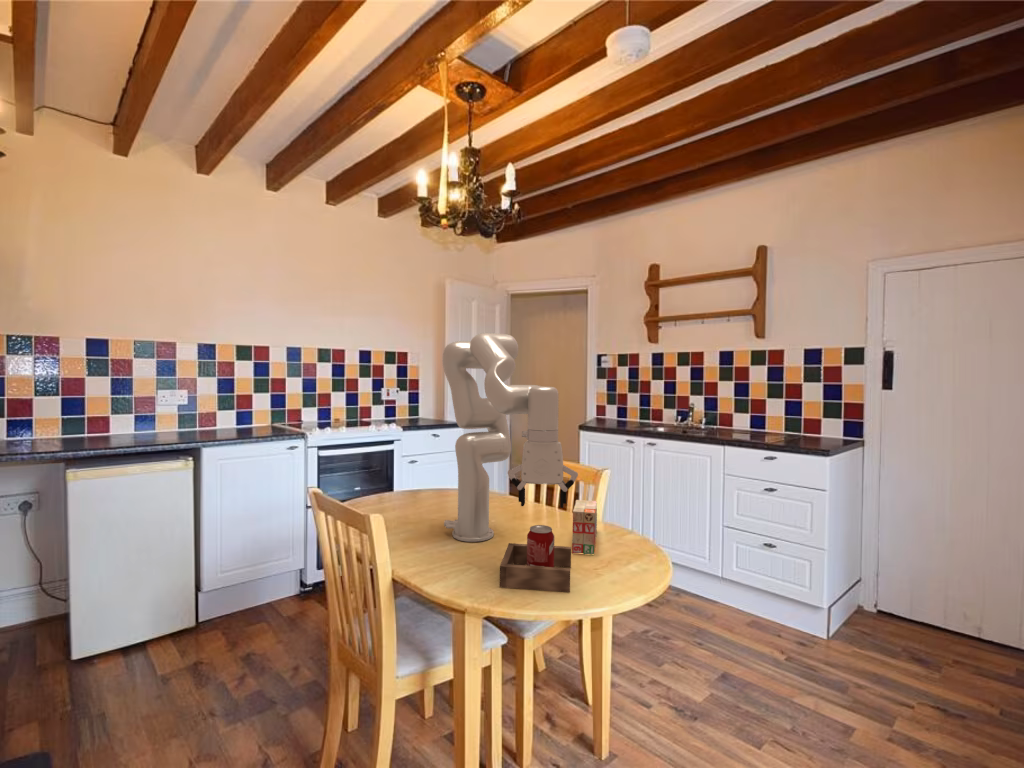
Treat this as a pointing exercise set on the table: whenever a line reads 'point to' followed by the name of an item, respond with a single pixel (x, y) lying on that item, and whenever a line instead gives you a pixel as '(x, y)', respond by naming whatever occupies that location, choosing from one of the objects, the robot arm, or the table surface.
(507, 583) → the open-side box
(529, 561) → the soda can
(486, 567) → the table surface
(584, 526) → the stack of blocks
